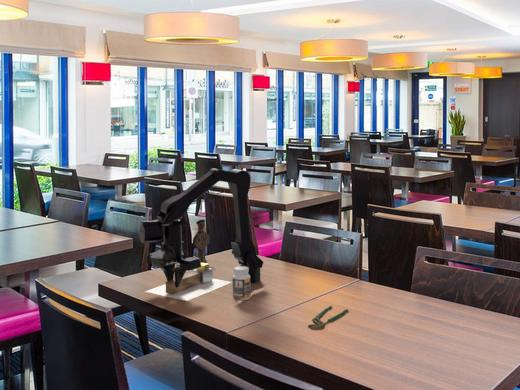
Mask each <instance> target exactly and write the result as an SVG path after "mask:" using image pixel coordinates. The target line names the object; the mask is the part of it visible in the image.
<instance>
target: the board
mask: <svg viewBox="0 0 520 390" xmlns="http://www.w3.org/2000/svg"><path fill="white" fill-rule="evenodd" d="M230 284H233V281H227V280H223V279H222V280H221V279H219V278H218V279H217V278H213V277H212V281H211V282H209V283H206V284H197V285H195V286H192V287H189V288H187V289H184V290H181V291H179V292H176V293H173V294H168V293H166V283H164V284H162V285H159V286H156V287H154V288H151V289H148V290H146V291H144V293H147V294H154V295H158V296H162V297H167V298H171V299H175V300H180V301H184V302H185V301H186V302H188V301H190V300H192V299H195V298H198V297H200V296H202V295H205V294H208V293H211V292H213V291H214V290H217V289H220V288H222V287H224V286H227V285H230Z"/></svg>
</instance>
